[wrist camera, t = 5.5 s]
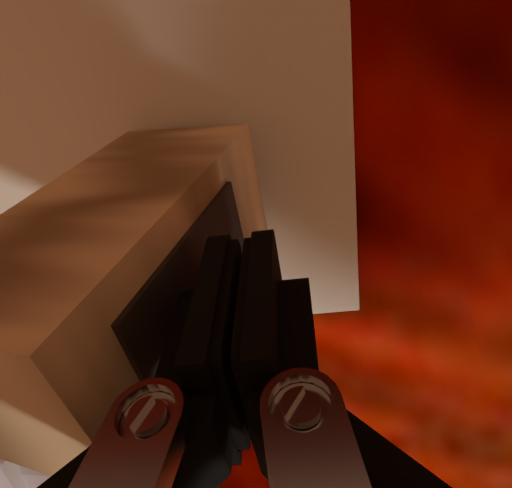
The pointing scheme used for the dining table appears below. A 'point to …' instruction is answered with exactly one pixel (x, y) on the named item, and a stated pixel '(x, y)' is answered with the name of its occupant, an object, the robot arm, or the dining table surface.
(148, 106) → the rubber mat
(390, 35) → the dining table surface
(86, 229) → the maple block
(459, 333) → the dining table surface
